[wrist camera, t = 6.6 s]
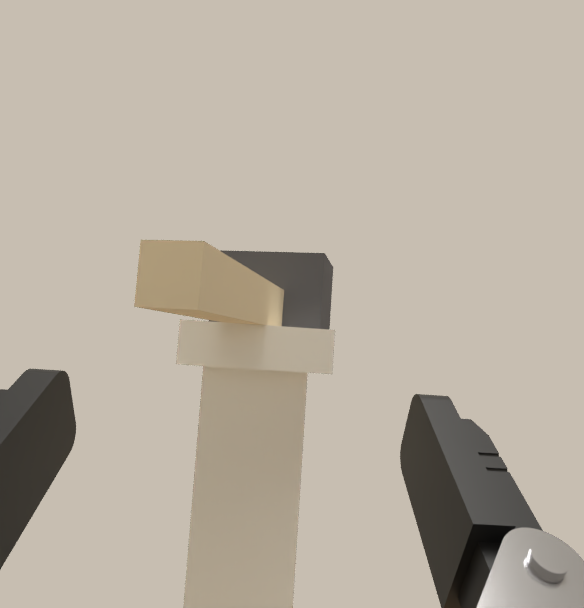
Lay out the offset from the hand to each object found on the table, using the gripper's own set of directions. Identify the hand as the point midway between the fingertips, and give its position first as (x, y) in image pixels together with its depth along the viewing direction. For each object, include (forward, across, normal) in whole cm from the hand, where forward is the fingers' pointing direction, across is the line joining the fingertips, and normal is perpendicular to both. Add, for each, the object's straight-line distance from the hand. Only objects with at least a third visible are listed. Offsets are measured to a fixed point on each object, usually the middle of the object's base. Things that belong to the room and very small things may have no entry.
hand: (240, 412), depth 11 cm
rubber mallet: (+10, +1, +3) cm, 10 cm away
